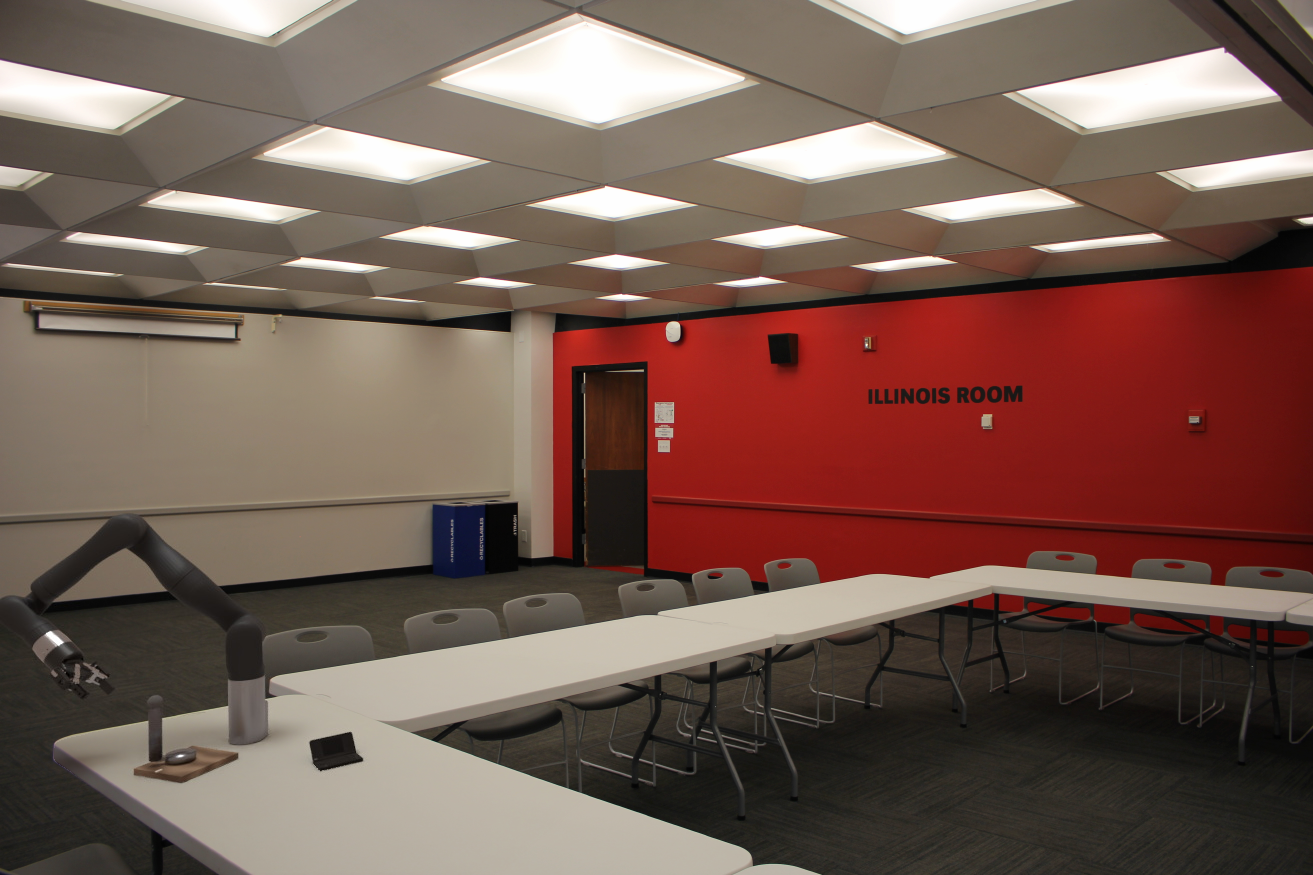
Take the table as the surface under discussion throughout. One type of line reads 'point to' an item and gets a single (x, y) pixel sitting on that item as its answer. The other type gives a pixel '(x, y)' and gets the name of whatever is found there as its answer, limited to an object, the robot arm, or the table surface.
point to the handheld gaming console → (334, 751)
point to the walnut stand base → (187, 765)
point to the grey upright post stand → (156, 737)
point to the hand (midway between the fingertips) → (99, 694)
